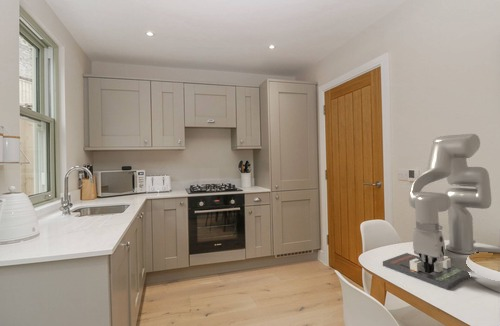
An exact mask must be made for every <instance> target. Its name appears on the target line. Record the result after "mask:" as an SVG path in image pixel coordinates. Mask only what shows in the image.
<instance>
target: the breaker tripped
mask: <svg viewBox="0 0 500 326" xmlns="http://www.w3.org/2000/svg"><path fill="white" fill-rule="evenodd" d="M410 269H411V270H414V271H417V272H418V271H420V270H422V267H421V261H419V259H413V260H411V261H410Z"/></svg>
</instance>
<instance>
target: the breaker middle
mask: <svg viewBox="0 0 500 326" xmlns="http://www.w3.org/2000/svg"><path fill="white" fill-rule="evenodd" d="M434 271H436V272H441V271H443V262H441V261H436V262H435V263H434Z"/></svg>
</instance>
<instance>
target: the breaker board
mask: <svg viewBox="0 0 500 326" xmlns="http://www.w3.org/2000/svg"><path fill="white" fill-rule="evenodd" d="M413 259H419V261H421V267H422V270H420V271H418V272H417V271H414V270H411V269H410V261H411V260H413ZM382 267H385V268H388V269H390V270H394V271H395V272H399V273H401V274H403V275H407V276H409V277H412V278H415V279H416V280H420V281H422V282H425V283H428V284H430V285H433V286H435V287H439V288H441V289H443V290H446V291H449V290H450V289H452V288H454V287H456V286H458V285H459V284H461V282H462V283H463V281H464V282H465V280H466V281H467V280H469V279H471V278H470V275H469V273H468V272H467V271H468V270H464V269H462V268H458V267H456V266H452V265H451V267H450V268H448V269H446V268H443V271H441V272H436V271H433V272H432V273H430V274H429V273H426V272H425V269H424V262H423V261H422V259H421V257H420V256H418V255H416V254H412V253H408V252H406V253H403V254H400V255H397V256H395V257H391V258H389V259H386V260H383V261H382Z"/></svg>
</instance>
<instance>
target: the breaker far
mask: <svg viewBox="0 0 500 326" xmlns="http://www.w3.org/2000/svg"><path fill="white" fill-rule="evenodd" d="M443 257H444V261H441V262H443V268H446V269H448V268H450V267H451V266H452V265H451V264H452V263H451V261H452V260H451V258H449V256H447V255H445V256H443Z"/></svg>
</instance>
